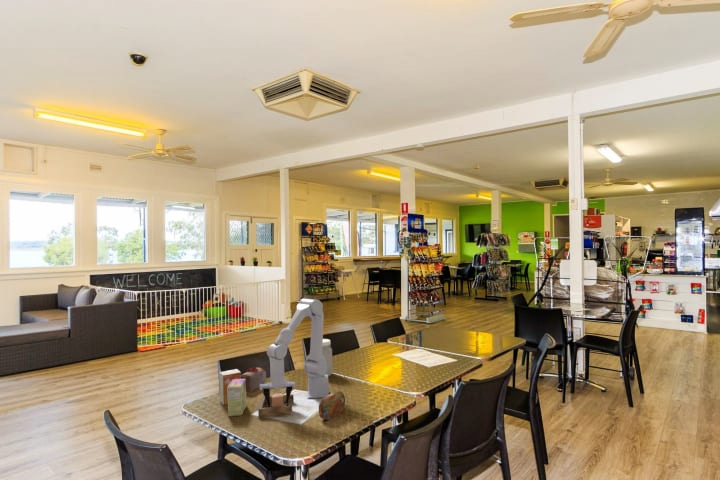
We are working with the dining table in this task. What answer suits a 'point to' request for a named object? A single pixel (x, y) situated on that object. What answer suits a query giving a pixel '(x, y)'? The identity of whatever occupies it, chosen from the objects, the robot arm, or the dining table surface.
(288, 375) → the dining table surface
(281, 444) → the dining table surface
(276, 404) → the block
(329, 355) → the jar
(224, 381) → the small box
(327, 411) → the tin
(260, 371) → the food item
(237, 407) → the box
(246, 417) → the dining table surface
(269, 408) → the open box
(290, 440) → the dining table surface
